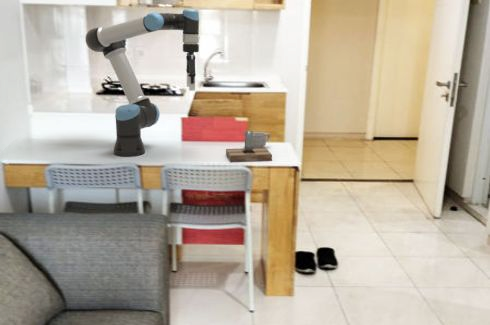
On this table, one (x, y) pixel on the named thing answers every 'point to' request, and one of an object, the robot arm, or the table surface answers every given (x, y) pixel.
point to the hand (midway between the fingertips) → (190, 88)
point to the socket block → (248, 155)
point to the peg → (248, 142)
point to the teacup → (260, 139)
